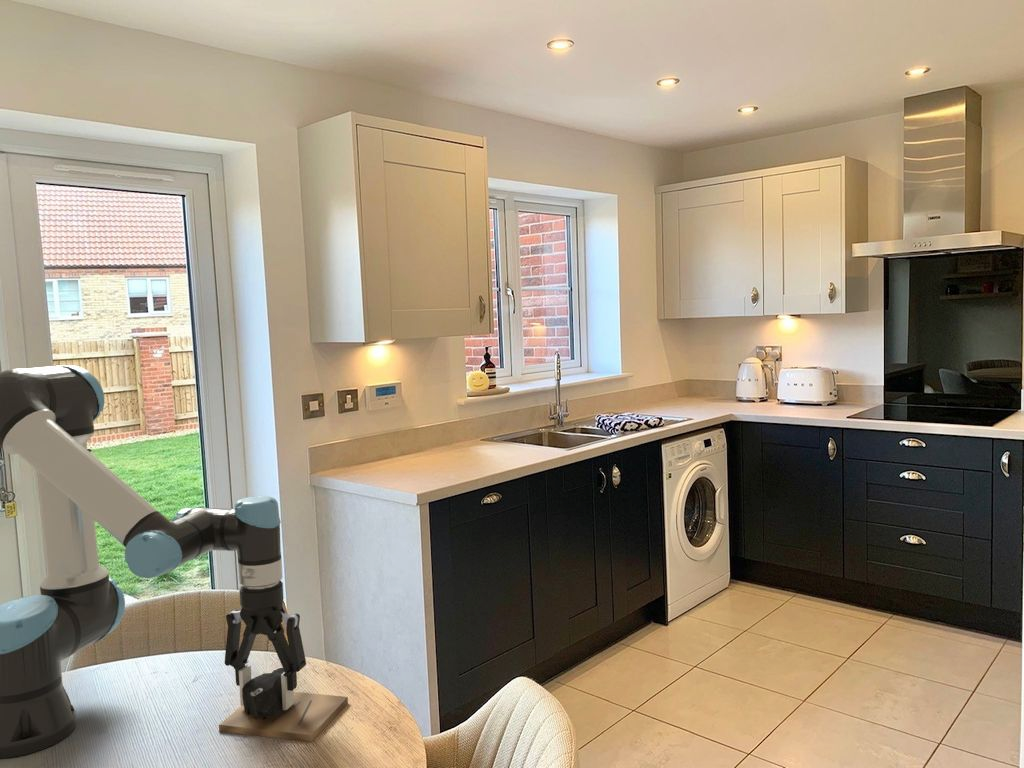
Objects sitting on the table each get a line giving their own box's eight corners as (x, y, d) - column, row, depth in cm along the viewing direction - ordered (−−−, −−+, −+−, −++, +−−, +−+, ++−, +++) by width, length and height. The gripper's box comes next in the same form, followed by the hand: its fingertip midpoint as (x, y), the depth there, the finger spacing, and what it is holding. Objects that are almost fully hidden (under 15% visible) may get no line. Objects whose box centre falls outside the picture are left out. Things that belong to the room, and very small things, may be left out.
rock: (258, 726, 137) (257, 693, 136) (236, 705, 144) (235, 674, 144) (306, 710, 142) (305, 678, 142) (283, 691, 150) (281, 661, 150)
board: (219, 731, 139) (218, 724, 139) (262, 694, 153) (262, 688, 152) (311, 741, 135) (311, 734, 135) (347, 703, 148) (347, 696, 148)
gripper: (198, 586, 141) (205, 708, 143) (302, 593, 136) (308, 719, 138) (223, 573, 149) (229, 690, 150) (323, 579, 144) (328, 699, 145)
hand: (267, 704), depth 144 cm, fingers closed on rock, 8 cm apart
